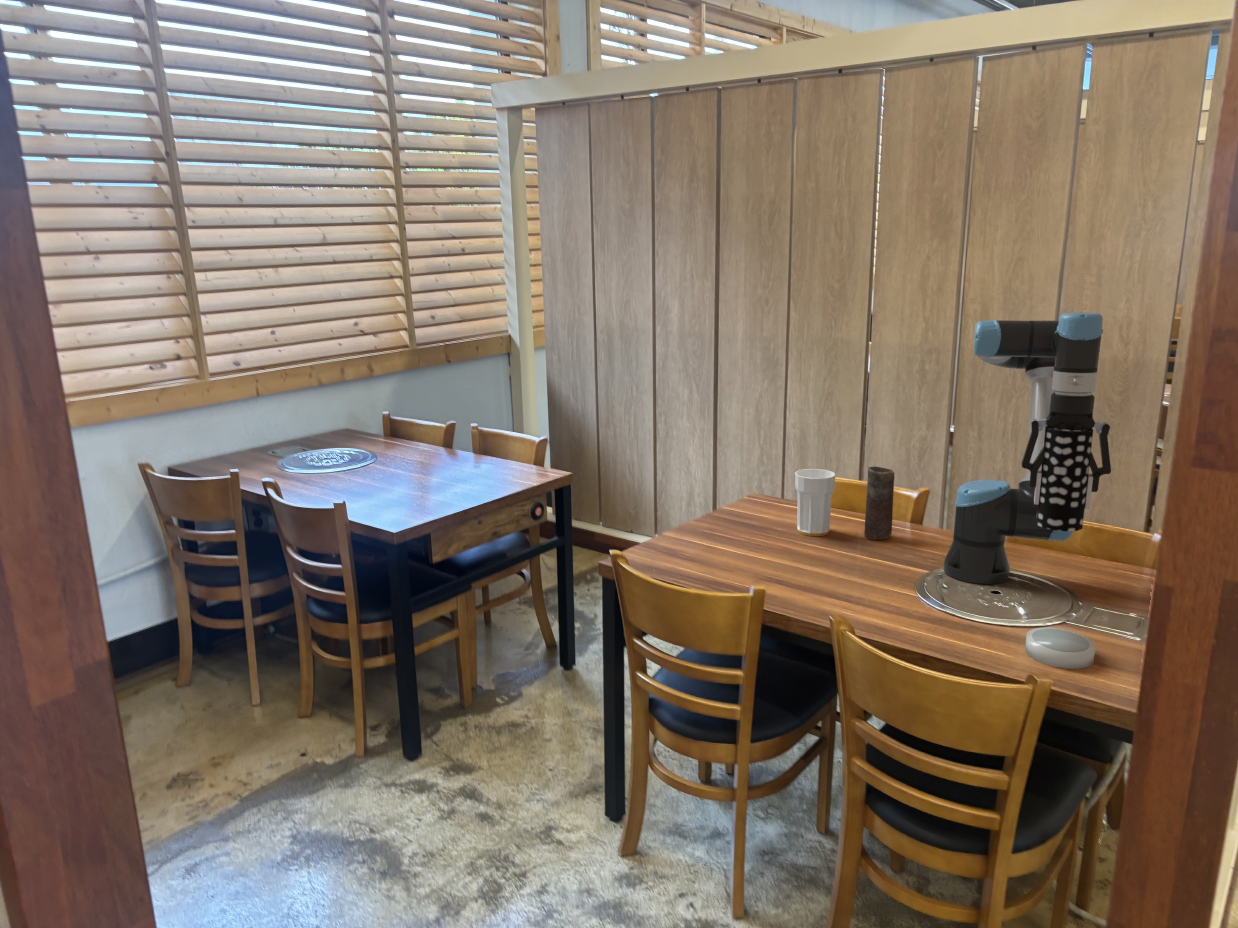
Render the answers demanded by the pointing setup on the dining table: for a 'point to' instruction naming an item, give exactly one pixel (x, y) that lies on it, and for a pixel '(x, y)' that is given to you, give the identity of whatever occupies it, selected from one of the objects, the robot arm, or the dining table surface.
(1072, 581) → the dining table surface
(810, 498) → the cup
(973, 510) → the robot arm
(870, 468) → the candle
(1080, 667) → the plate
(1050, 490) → the spotted tube
